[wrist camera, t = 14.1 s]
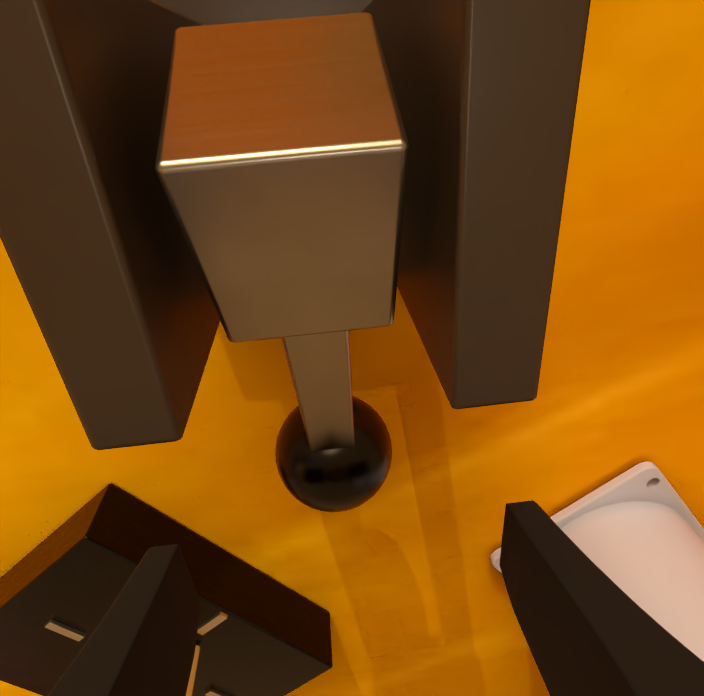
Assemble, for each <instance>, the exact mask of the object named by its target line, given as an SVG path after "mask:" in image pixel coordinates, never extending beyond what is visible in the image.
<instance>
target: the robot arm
mask: <svg viewBox="0 0 704 696" xmlns="http://www.w3.org/2000/svg"><path fill="white" fill-rule="evenodd" d="M490 560H491V563H492V565H493V567H494V568H495V569H497V570H498V571H499V572H500V573H501V574H502V575H503V578H504V581H505V585H506V588H507V591H508V594H509V597H510V600H511V603H512V607H513V610H514V613H515V615H516V617H517V620H518V622H519V624H520V627H521V629H522V631H523V634H524V636H525V638H526V641H527V643H528V645H529V648H530V650H531V652H532V655H533V657H534V659H535V661H536V664H537V666H538V668H539V671H540V673H541V675H542V677H543V680H544V682H545V684H546V687H547V689H548V691H549V694H550V696H704V528H703V527H702V526H701V524H700V523H699V522H698V520H697V519H696V518H695V517H694V515H693V514H692V513H691V511H690V510H689V509H688V507H687V506H686V505H685V503H684V502H683V501H682V499H681V498H680V497H679V495H678V494H677V493H676V491H675V490H674V489H673V487H672V486H671V485H670V483H669V482H668V481H667V479H666V478H665V477H664V475H663V474H662V473H661V471H660V470H659V469H658V468H657V467H656V466H655V464H653V463H652V462H649V461H645V462H641V463H639V464H637V465H635V466H633V467H632V468H630V469H628V470H627V471H625V472H624V473H622V474H620V475H619V476H617V477H615V478H614V479H612V480H610V481H609V482H607V483H605V484H604V485H602V486H600V487H599V488H597V489H596V490H594V491H592V492H591V493H589V494H587V495H586V496H584V497H582V498H581V499H579V500H577V501H576V502H574V503H572V504H571V505H569V506H567V507H566V508H564V509H563V510H561V511H559V512H558V513H556V514H554V515H553V516H551V517H549V516H548V515H547V514H546V513H545V512H544V511H543V510H542V508H541V507H540V506H539V505H538V504H537V503H536V502H534V501H525V502H517V503H508V504H506V508H505V517H504V527H503V536H502V545H501V547H500V548H498V549H497V550H495V551H494V552H492V554H491V556H490ZM199 610H200V600H199V597H198V595H197V592H196V589H195V586H194V584H193V581H192V578H191V576H190V573H189V570H188V567H187V565H186V562H185V559H184V557H183V554H182V551H181V548H180V546H179V544H172V545H164V546H155V547H150V548H149V549H148V550H147V552H146V553H145V555H144V556H143V558H142V559H141V561H140V562H139V564H138V566H137V567H136V569H135V570H134V572H133V573H132V575H131V576H130V578H129V580H128V581H127V583H126V584H125V586H124V587H123V589H122V590H121V592H120V593H119V595H118V596H117V598H116V599H115V601H114V602H113V604H112V605H111V607H110V608H109V610H108V611H107V613H106V614H105V616H104V617H103V619H102V620H101V622H100V623H99V625H98V626H97V627H96V629H95V630H94V632H93V633H92V635H91V636H90V638H89V639H88V640H87V642H86V643H85V645H84V646H83V648H82V649H81V651H80V652H79V653H78V655H77V656H76V658H75V659H74V660H73V662H72V663H71V664H70V666H69V667H68V668H67V670H66V671H65V672H64V674H63V675H62V676H61V678H60V679H59V680H58V682H57V683H56V684H55V686H54V687H53V688H52V690H51V691H50V692H49V694H48V695H47V696H186V692H187V687H188V683H189V678H190V673H191V669H192V664H193V659H194V654H195V647H196V638H197V630H198V620H199Z"/></svg>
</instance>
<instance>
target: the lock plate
mask: <svg viewBox="0 0 704 696" xmlns="http://www.w3.org/2000/svg"><path fill="white" fill-rule="evenodd" d="M172 544H179V546H180V548H181V551H182V554H183V557H184V559H185V562H186V565H187V567H188V570H189V573H190V576H191V578H192V581H193V584H194V586H195V589H196V592H197V595H198V597H199V600H200V610H199V620H198V630H197V638H196V645H198V646H200V653H199V659H198V664H197V670H196V676H195V682H194V687H193V693H192V696H285V695H286V694H288V693H290V692H291V691H293V690H295V689H296V688H298V687H300V686H302V685H303V684H305V683H307V682H308V681H310V680H312V679H313V678H315V677H317V676H318V675H320V674H322V673H323V672H325V671H327V670H329V669H330V668H332V648H331V629H330V613H329V612H328V611H326V610H325V609H323V608H321V607H319V606H318V605H316V604H314V603H313V602H311V601H309V600H308V599H306V598H304V597H303V596H301V595H299V594H298V593H296V592H294V591H292V590H291V589H289V588H287V587H286V586H284V585H282V584H281V583H279V582H277V581H276V580H274V579H272V578H270V577H269V576H267V575H265V574H264V573H262V572H260V571H259V570H257V569H255V568H254V567H252V566H250V565H249V564H247V563H245V562H243V561H242V560H240V559H238V558H237V557H235V556H233V555H232V554H230V553H228V552H227V551H225V550H223V549H222V548H220V547H218V546H216V545H215V544H213V543H211V542H210V541H208V540H206V539H205V538H203V537H201V536H200V535H198V534H196V533H195V532H193V531H191V530H189V529H188V528H186V527H184V526H183V525H181V524H179V523H178V522H176V521H174V520H173V519H171V518H169V517H168V516H166V515H164V514H162V513H161V512H159V511H157V510H156V509H154V508H152V507H151V506H149V505H147V504H146V503H144V502H142V501H141V500H139V499H137V498H135V497H134V496H132V495H130V494H129V493H127V492H125V491H124V490H122V489H120V488H119V487H117V486H115V485H114V484H109V485H108V486H106V487H105V488H104V489H103V490H102V491H101V492H99V493H98V494H97V495H96V496H95V497H94V498H93V499H91V500H90V501H89V502H88V503H87V504H86V505H84V506H83V507H82V508H81V509H80V510H79V511H78V512H76V513H75V514H74V515H73V516H72V517H71V518H69V519H68V520H67V521H66V522H65V523H64V524H62V525H61V526H60V527H59V528H58V529H57V530H56V531H54V532H53V533H52V534H51V535H50V536H49V537H47V538H46V539H45V540H44V541H43V542H42V543H41V544H39V545H38V546H37V547H36V548H35V549H34V550H32V551H31V552H30V553H29V554H28V555H27V556H26V557H24V558H23V559H22V560H21V561H20V562H19V563H17V564H16V565H15V566H14V567H13V568H12V569H11V570H9V571H8V572H7V573H6V574H5V575H4V576H2V577H1V578H0V680H1V681H4V682H6V683H9V684H12V685H15V686H18V687H20V688H23V689H26V690H29V691H32V692H34V693H37V694H40V695H43V696H47V695H48V694H49V692H50V691H51V690H52V688H53V687H54V686H55V684H56V683H57V682H58V680H59V679H60V678H61V676H62V675H63V674H64V672H65V671H66V670H67V668H68V667H69V666H70V664H71V663H72V662H73V660H74V659H75V658H76V656H77V655H78V653H79V652H80V651H81V649H82V648H83V646H84V645H85V643H86V642H87V640H88V639H89V638H90V636H91V635H92V633H93V632H94V630H95V629H96V627H97V626H98V625H99V623H100V622H101V620H102V619H103V617H104V616H105V614H106V613H107V611H108V610H109V608H110V607H111V605H112V604H113V602H114V601H115V599H116V598H117V596H118V595H119V593H120V592H121V590H122V589H123V587H124V586H125V584H126V583H127V581H128V580H129V578H130V576H131V575H132V573H133V572H134V570H135V569H136V567H137V566H138V564H139V562H140V561H141V559H142V558H143V556H144V555H145V553H146V552H147V550H148V549H149V548H150V547H155V546H164V545H172Z"/></svg>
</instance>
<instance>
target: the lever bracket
mask: <svg viewBox="0 0 704 696" xmlns="http://www.w3.org/2000/svg"><path fill="white" fill-rule="evenodd" d="M590 1H591V0H0V237H1V240H2V242H3V244H4V247H5V249H6V251H7V253H8V256H9V258H10V260H11V263H12V265H13V267H14V269H15V272H16V274H17V276H18V279H19V281H20V283H21V286H22V288H23V290H24V292H25V295H26V297H27V299H28V302H29V304H30V306H31V308H32V311H33V313H34V315H35V318H36V320H37V322H38V324H39V327H40V329H41V331H42V334H43V336H44V338H45V340H46V343H47V345H48V347H49V350H50V352H51V354H52V356H53V359H54V361H55V363H56V366H57V368H58V370H59V373H60V375H61V377H62V379H63V382H64V384H65V386H66V389H67V391H68V393H69V395H70V398H71V400H72V402H73V405H74V407H75V409H76V411H77V414H78V416H79V418H80V421H81V423H82V425H83V427H84V430H85V432H86V434H87V437H88V439H89V441H90V443H91V446H92V447H93V448H94V449H97V450H104V449H112V448H121V447H130V446H138V445H147V444H155V443H164V442H173V441H177V440H179V439H181V438H182V436H183V433H184V430H185V427H186V424H187V421H188V418H189V415H190V412H191V409H192V406H193V402H194V399H195V396H196V393H197V390H198V387H199V384H200V381H201V378H202V375H203V372H204V369H205V365H206V362H207V359H208V356H209V353H210V350H211V347H212V344H213V341H214V338H215V335H216V332H217V328H218V325H219V322H220V318H219V316H218V313H217V311H216V309H215V306H214V304H213V302H212V300H211V297H210V295H209V293H208V290H207V288H206V286H205V283H204V281H203V279H202V276H201V274H200V272H199V269H198V267H197V265H196V262H195V260H194V258H193V256H192V253H191V251H190V249H189V246H188V244H187V242H186V239H185V237H184V235H183V232H182V230H181V228H180V225H179V223H178V221H177V219H176V216H175V214H174V212H173V209H172V207H171V205H170V202H169V200H168V198H167V195H166V193H165V191H164V188H163V186H162V184H161V181H160V179H159V177H158V175H157V172H156V170H155V164H156V157H157V150H158V143H159V136H160V130H161V123H162V116H163V109H164V103H165V96H166V89H167V82H168V75H169V69H170V62H171V55H172V48H173V42H174V35H175V30H176V29H178V28H180V27H190V26H202V25H215V24H227V23H240V22H252V21H265V20H277V19H289V18H302V17H314V16H327V15H339V14H352V13H364V12H366V13H370V14H372V17H373V19H374V23H375V26H376V30H377V33H378V37H379V40H380V44H381V47H382V51H383V54H384V58H385V62H386V65H387V69H388V72H389V76H390V79H391V83H392V86H393V90H394V93H395V97H396V101H397V104H398V108H399V111H400V115H401V118H402V122H403V125H404V129H405V133H406V136H407V140H408V143H409V154H408V165H407V176H406V188H405V199H404V210H403V222H402V233H401V244H400V256H399V267H398V278H397V287H398V289H399V291H400V294H401V296H402V298H403V300H404V303H405V305H406V307H407V309H408V311H409V314H410V316H411V318H412V320H413V322H414V325H415V327H416V329H417V331H418V334H419V336H420V338H421V340H422V342H423V345H424V347H425V349H426V351H427V353H428V356H429V358H430V360H431V362H432V365H433V367H434V369H435V371H436V373H437V376H438V378H439V380H440V382H441V384H442V387H443V389H444V391H445V393H446V396H447V398H448V400H449V402H450V404H451V406H452V408H454V409H462V408H471V407H480V406H488V405H497V404H505V403H514V402H523V401H531V400H534V399H535V398H536V397H537V390H538V382H539V375H540V368H541V360H542V353H543V346H544V338H545V331H546V324H547V316H548V309H549V302H550V294H551V287H552V280H553V272H554V265H555V258H556V250H557V243H558V236H559V228H560V221H561V214H562V206H563V199H564V192H565V184H566V177H567V170H568V162H569V155H570V148H571V140H572V133H573V126H574V118H575V111H576V104H577V96H578V89H579V82H580V74H581V67H582V60H583V52H584V45H585V38H586V30H587V23H588V16H589V8H590Z"/></svg>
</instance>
